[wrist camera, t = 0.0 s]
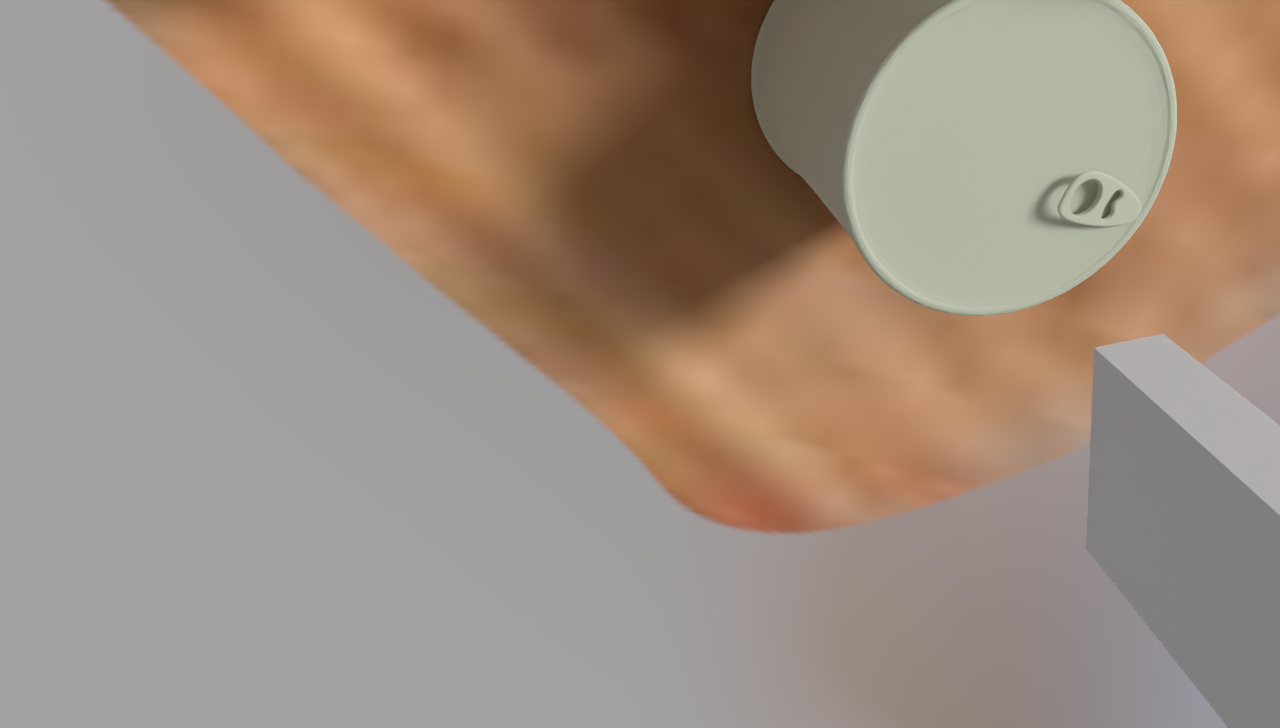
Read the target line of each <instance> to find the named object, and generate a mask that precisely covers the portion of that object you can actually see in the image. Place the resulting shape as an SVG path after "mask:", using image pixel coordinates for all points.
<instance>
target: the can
mask: <svg viewBox="0 0 1280 728" xmlns="http://www.w3.org/2000/svg"><path fill="white" fill-rule="evenodd" d="M751 90H752V98H753V104H754V109H755V112H756V116H757V119H758V122H759V125H760V127H761V130H762V132H763V134H764V136H765V138H766V139H767V141H768V143H769V144H770V146H771V147H772V149H773V150H774V151H775V153H776V154H777V155H778V157H779V158H780V159H781V160H782V161H783V162H784V163H785V164H786V165H787V166H788V167H789V168H791V169H792V170H793V171H794V172H795V173H797V174H798V175H800V176H801V177H802V178H803V179H804V180H805V181H806V182H807V183H808V185H809V186H810V187H811V188H812V189H813V191H814V192H815V193H816V194H817V195H818V197H819V198H820V199H821V200H822V202H823V203H824V204H825V205H826V207H827V208H828V209H829V210H830V212H831V213H832V214H833V215H834V217H835V218H836V219H837V220H838V222H839V223H840V224H841V226H842V227H843V228H844V229H845V231H846V232H847V233H848V235H849V236H850V237H851V239H852V240H853V241H854V243H855V245H856V247H857V249H858V251H859V252H860V254H861V255H862V257H863V259H864V260H865V261H866V263H867V264H868V265H869V267H870V268H871V269H872V270H873V271H874V273H875V274H876V275H877V276H878V277H879V278H880V279H881V280H882V281H883V282H885V283H886V284H887V285H888V286H889V287H891V288H892V289H893V290H895V291H896V292H898V293H899V294H901V295H902V296H904V297H906V298H908V299H909V300H911V301H913V302H915V303H917V304H920V305H922V306H925V307H927V308H930V309H934V310H937V311H941V312H945V313H951V314H958V315H970V316H984V315H997V314H1004V313H1009V312H1014V311H1018V310H1022V309H1026V308H1029V307H1032V306H1035V305H1038V304H1040V303H1043V302H1046V301H1048V300H1050V299H1052V298H1054V297H1056V296H1058V295H1060V294H1063V293H1065V292H1066V291H1068V290H1070V289H1071V288H1073V287H1075V286H1076V285H1078V284H1080V283H1081V282H1083V281H1084V280H1085V279H1087V278H1088V277H1090V276H1091V275H1092V274H1094V273H1095V272H1096V271H1097V270H1098V269H1100V268H1101V267H1102V266H1103V265H1104V264H1105V263H1107V262H1108V261H1109V260H1110V259H1111V258H1112V257H1113V256H1114V255H1115V254H1116V253H1117V252H1118V251H1119V250H1120V249H1121V248H1122V247H1123V245H1124V244H1125V243H1126V242H1127V241H1128V240H1129V239H1130V237H1131V236H1132V235H1133V234H1134V232H1135V231H1136V230H1137V228H1138V227H1139V226H1140V225H1141V223H1142V222H1143V220H1144V218H1145V217H1146V215H1147V214H1148V212H1149V210H1150V208H1151V207H1152V205H1153V203H1154V201H1155V199H1156V197H1157V195H1158V193H1159V191H1160V188H1161V186H1162V183H1163V181H1164V178H1165V176H1166V173H1167V171H1168V168H1169V164H1170V161H1171V157H1172V152H1173V148H1174V143H1175V136H1176V126H1177V102H1176V93H1175V87H1174V81H1173V77H1172V74H1171V70H1170V67H1169V63H1168V61H1167V59H1166V56H1165V54H1164V52H1163V49H1162V47H1161V46H1160V44H1159V42H1158V41H1157V39H1156V37H1155V35H1154V34H1153V32H1152V31H1151V30H1150V29H1149V27H1148V26H1147V25H1146V23H1145V22H1144V21H1143V20H1142V19H1141V18H1140V17H1139V16H1138V15H1137V14H1136V13H1135V12H1134V11H1133V10H1132V9H1131V8H1130V7H1128V6H1127V5H1126V4H1124V3H1123V2H1122V1H1120V0H774V2H773V3H772V5H771V7H770V9H769V11H768V12H767V15H766V17H765V19H764V21H763V23H762V26H761V28H760V31H759V34H758V37H757V40H756V44H755V48H754V53H753V59H752V68H751Z"/></svg>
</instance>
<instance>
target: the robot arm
mask: <svg viewBox="0 0 1280 728" xmlns="http://www.w3.org/2000/svg"><path fill="white" fill-rule="evenodd" d="M1089 467H1090V469H1089V493H1088V517H1087V542H1086V549H1087V550H1088V551H1089V553H1090V554H1091V555H1092V556H1093V558H1094V559H1095V560H1096V561H1097V563H1098V564H1099V565H1100V567H1101V568H1102V569H1103V570H1104V572H1105V573H1106V574H1107V575H1108V577H1109V578H1110V579H1111V580H1112V582H1113V583H1114V584H1115V585H1116V587H1117V588H1118V589H1119V590H1120V592H1121V593H1122V594H1123V596H1124V597H1125V598H1126V599H1127V601H1128V602H1129V603H1130V604H1131V606H1132V607H1133V608H1134V609H1135V611H1136V612H1137V613H1138V614H1139V616H1140V617H1141V618H1142V620H1143V621H1144V622H1145V623H1146V625H1147V626H1148V627H1149V628H1150V629H1151V631H1152V632H1153V633H1154V635H1155V636H1156V637H1157V638H1158V640H1159V641H1160V642H1161V643H1162V645H1163V646H1164V647H1165V649H1166V650H1167V651H1168V652H1169V654H1170V655H1171V656H1172V657H1173V659H1174V660H1175V661H1176V662H1177V664H1178V665H1179V666H1180V667H1181V669H1182V670H1183V671H1184V672H1185V674H1186V675H1187V676H1188V677H1189V679H1190V680H1191V681H1192V683H1193V684H1194V685H1195V686H1196V688H1197V689H1198V690H1199V691H1200V693H1201V694H1202V695H1203V696H1204V698H1205V699H1206V700H1207V702H1208V703H1209V704H1210V705H1211V707H1212V708H1213V709H1214V710H1215V711H1216V713H1217V714H1218V715H1219V717H1220V718H1221V719H1222V720H1223V722H1224V723H1225V724H1226V725H1227V727H1228V728H1280V425H1278V424H1277V423H1276V422H1275V421H1273V420H1272V419H1271V418H1269V417H1268V416H1267V415H1266V414H1264V413H1263V412H1262V411H1261V410H1259V409H1258V408H1257V407H1255V406H1254V405H1253V404H1252V403H1250V402H1249V401H1248V400H1247V399H1245V398H1244V397H1243V396H1241V395H1240V394H1239V393H1238V392H1236V391H1235V390H1234V389H1233V388H1231V387H1230V386H1229V385H1227V384H1226V383H1225V382H1224V381H1222V380H1221V379H1220V378H1219V377H1217V376H1216V375H1215V374H1214V373H1212V372H1211V371H1210V370H1208V369H1207V368H1206V367H1205V366H1203V365H1202V364H1201V363H1200V362H1198V361H1197V360H1196V359H1195V358H1193V357H1192V356H1191V355H1189V354H1188V353H1187V352H1186V351H1184V350H1183V349H1182V348H1181V347H1179V346H1178V345H1177V344H1175V343H1174V342H1173V341H1172V340H1170V339H1169V338H1168V337H1167V336H1165V335H1164V334H1159V335H1154V336H1149V337H1145V338H1140V339H1135V340H1130V341H1125V342H1120V343H1115V344H1110V345H1106V346H1101V347H1096V348H1094V366H1093V391H1092V416H1091V441H1090V466H1089Z"/></svg>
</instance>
